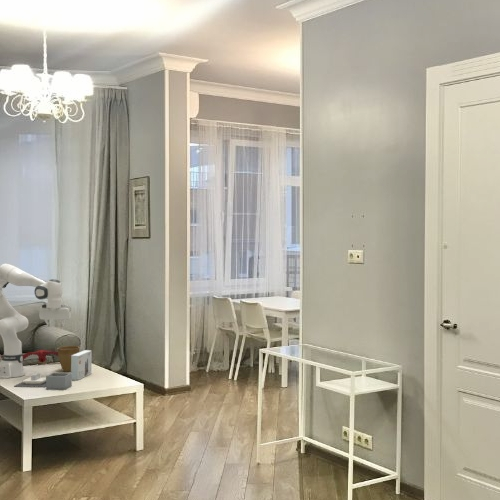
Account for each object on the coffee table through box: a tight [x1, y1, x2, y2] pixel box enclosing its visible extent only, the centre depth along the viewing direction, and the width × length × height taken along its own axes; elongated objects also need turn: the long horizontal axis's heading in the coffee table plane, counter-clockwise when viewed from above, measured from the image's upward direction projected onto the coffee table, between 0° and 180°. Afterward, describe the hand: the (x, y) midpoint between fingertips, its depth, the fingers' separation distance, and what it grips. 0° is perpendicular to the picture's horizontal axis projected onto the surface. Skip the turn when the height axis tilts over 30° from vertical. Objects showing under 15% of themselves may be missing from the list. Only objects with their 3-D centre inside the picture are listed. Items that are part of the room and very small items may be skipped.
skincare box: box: [70, 349, 93, 381], centre depth 460 cm, size 21×6×16 cm, turn 168°
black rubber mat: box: [13, 381, 46, 388], centre depth 440 cm, size 20×18×1 cm
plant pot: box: [56, 345, 81, 373], centre depth 480 cm, size 15×15×16 cm
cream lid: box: [21, 372, 46, 385], centre depth 440 cm, size 13×11×6 cm
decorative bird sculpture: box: [23, 349, 59, 365], centre depth 505 cm, size 28×9×15 cm
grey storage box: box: [45, 372, 73, 391], centre depth 429 cm, size 12×10×8 cm
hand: (55, 326), depth 451 cm, fingers open, 8 cm apart
